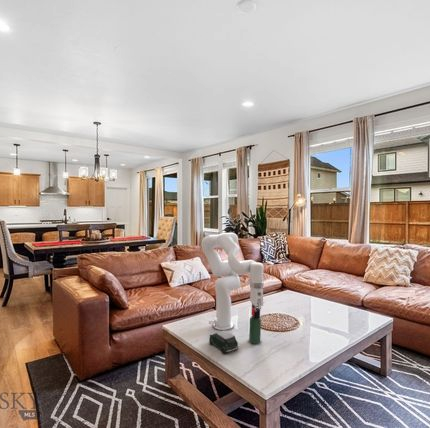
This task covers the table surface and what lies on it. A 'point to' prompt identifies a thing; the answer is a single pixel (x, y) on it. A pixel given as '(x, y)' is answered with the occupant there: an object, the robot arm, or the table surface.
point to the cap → (253, 311)
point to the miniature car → (224, 341)
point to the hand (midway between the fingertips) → (255, 316)
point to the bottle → (255, 330)
